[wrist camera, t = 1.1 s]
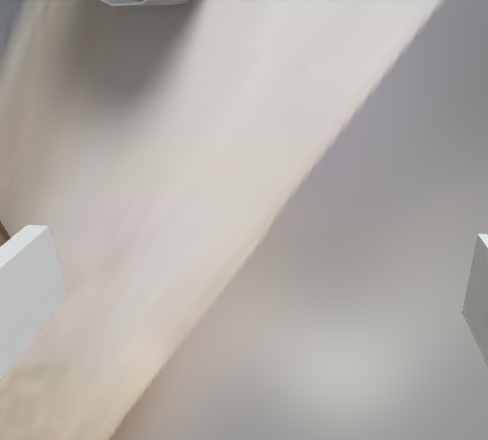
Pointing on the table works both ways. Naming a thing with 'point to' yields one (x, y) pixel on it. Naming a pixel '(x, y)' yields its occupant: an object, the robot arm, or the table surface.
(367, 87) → the table surface
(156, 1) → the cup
